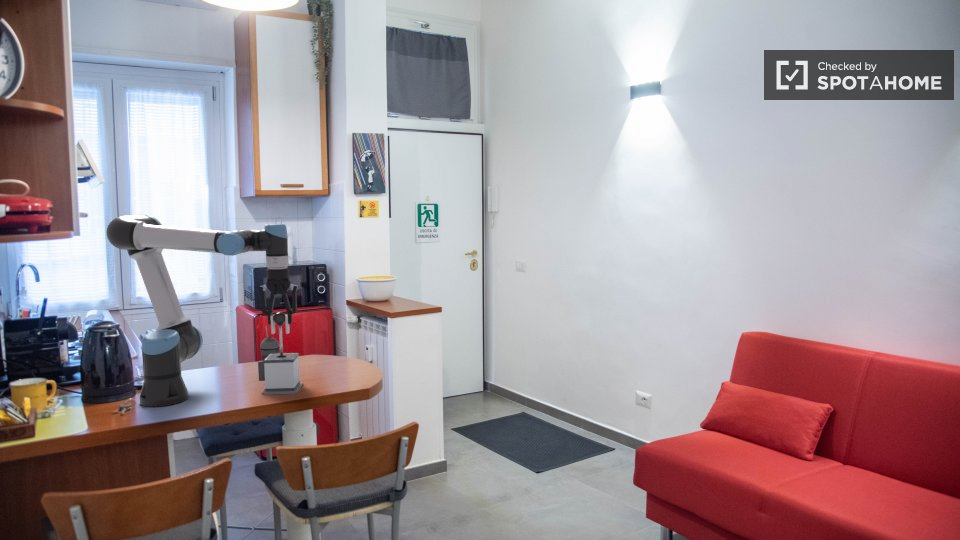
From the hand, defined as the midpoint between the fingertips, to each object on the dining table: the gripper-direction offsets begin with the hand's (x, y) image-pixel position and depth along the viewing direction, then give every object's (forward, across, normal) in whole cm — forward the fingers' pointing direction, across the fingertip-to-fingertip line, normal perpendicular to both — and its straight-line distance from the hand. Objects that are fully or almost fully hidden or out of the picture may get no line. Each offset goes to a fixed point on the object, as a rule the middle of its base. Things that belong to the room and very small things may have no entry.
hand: (280, 333), depth 243 cm
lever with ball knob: (+12, 0, 0) cm, 12 cm away
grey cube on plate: (+21, -1, 0) cm, 21 cm away
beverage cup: (+21, -8, +17) cm, 28 cm away
